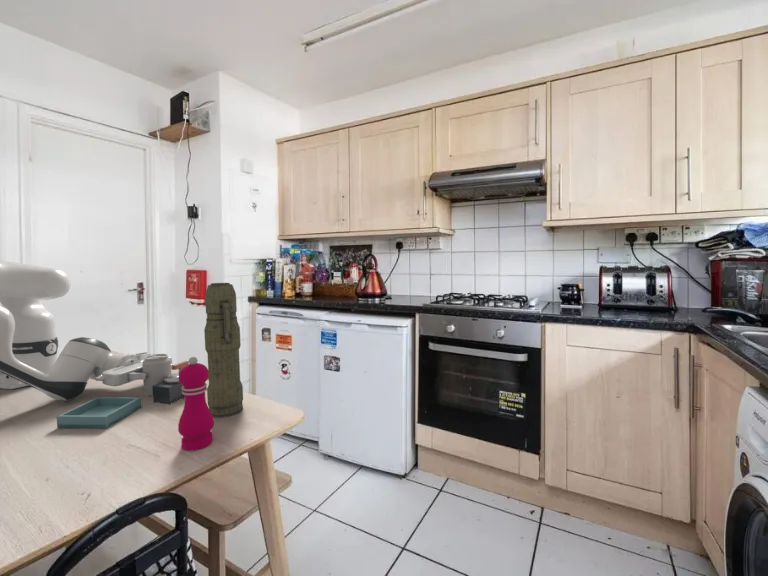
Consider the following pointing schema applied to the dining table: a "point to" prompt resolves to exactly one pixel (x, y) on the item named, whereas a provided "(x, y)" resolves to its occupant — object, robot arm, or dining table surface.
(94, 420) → the tray
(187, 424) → the pepper mill
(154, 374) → the can
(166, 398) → the crank housing
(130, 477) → the dining table surface
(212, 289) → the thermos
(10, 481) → the dining table surface
